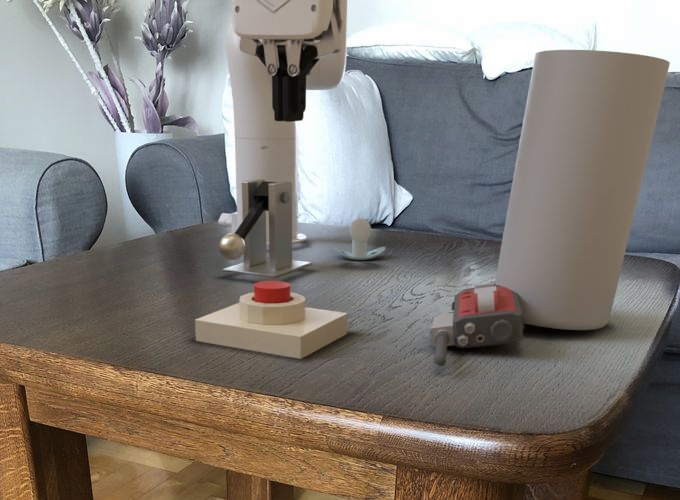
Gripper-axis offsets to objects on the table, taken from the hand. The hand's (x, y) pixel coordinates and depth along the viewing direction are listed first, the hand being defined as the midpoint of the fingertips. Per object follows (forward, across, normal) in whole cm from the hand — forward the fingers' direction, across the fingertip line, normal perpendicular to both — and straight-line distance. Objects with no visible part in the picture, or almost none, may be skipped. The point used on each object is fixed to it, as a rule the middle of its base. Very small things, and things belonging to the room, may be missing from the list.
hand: (289, 120), depth 83 cm
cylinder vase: (+19, +26, +10) cm, 34 cm away
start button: (+16, +3, -9) cm, 19 cm away
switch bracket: (+20, -13, +17) cm, 29 cm away
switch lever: (+14, -13, +13) cm, 23 cm away
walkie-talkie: (+19, +23, -2) cm, 30 cm away
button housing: (+20, +3, -9) cm, 22 cm away
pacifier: (+20, -5, +29) cm, 36 cm away
